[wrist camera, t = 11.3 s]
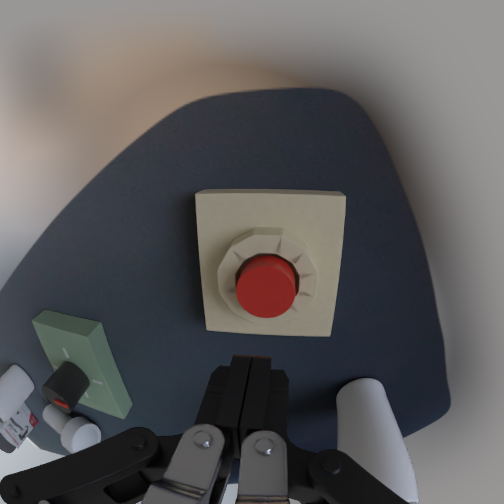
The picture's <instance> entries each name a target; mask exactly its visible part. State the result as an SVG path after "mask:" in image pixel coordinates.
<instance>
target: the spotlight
mask: <svg viewBox="0 0 504 504" xmlns="http://www.w3.org/2000/svg"><path fill="white" fill-rule="evenodd" d="M43 419H44V420H45V422H46V423H47V424H49V425H50V426H51V427H52V428H53V429H54V430H55V431H56V432H57V433H59V434H60V435H61V442H62V445H63V447H64V448H65V449H66V450H67V451H68V452H70V453H71V454H73V453H75V452H78V451H80V450H83V449H85V448H88V447H90V446H92V445H95V444H97V443H99V442H100V440H101V432H100V430H99V428H98V426H96V425H95V424H93V423H92V422H91V421H89V420H88V419H86V418H84V417H75V418H72V417H71V416H70V415H68V414H67V413H65V412H63V411H61V410H59V409H58V408H56V407H55V406H54V405H53V404H50V405H48V406H47V407H45V409H44V411H43Z"/></svg>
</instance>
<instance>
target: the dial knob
mask: <svg viewBox="0 0 504 504" xmlns="http://www.w3.org/2000/svg"><path fill="white" fill-rule="evenodd" d="M89 386H90V382H89V379H88V377H87V376H86V374H85V373H84V372H83V371H82V370H81V369H80V368H79V367H78V366H76V365H75V364H73V363H71V362H69V361H64V362H63V363H62V364H61V365H60V366H59V368H58V369H57V370H56V371H55V372H54V373H53V374H52V376H51V377H50V378H49V379H48V380H47V381H46V383H45V384H44V385H43V386H42V391H43V393H44V395H45V396H46V398H47V399H48V400H49V401H50V402H51V403H52V404H53V405H54V406H55V407H56V408H58V409H59V410H61V411H63V412H65V413H71V411H72V410H73V408H74V407H75V406H76V404H77V403H78V401H79V400H80V399H81V397H82V396H83V394H84V393H85V392H86V390H87V389H88V388H89Z"/></svg>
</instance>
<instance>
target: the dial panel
mask: <svg viewBox="0 0 504 504" xmlns="http://www.w3.org/2000/svg"><path fill="white" fill-rule="evenodd" d="M32 323H33V326H34V328H35V330H36V333H37V335H38V337H39V340H40V342H41V344H42V346H43V349H44V351H45V353H46V355H47V357H48V359H49V361H50V363H51V365H52V367H53V369H54V371H56V370H57V369H58V368H59V366H60V365H61V364H62V363H63V362H64V361H69V362H71V363H73V364H75V365H76V366H78V367H79V368H80V369H81V370H82V371H83V372H84V373H85V374H86V376H87V377H88V379H89V382H90V386H89V388H88V389H87V390H86V392H85V393H84V394H83V396H82V397H81V399H80V400H79V401H78V403H81V404H83V405H86V406H88V407H91V408H94V409H96V410H99V411H102V412H104V413H107V414H110V415H113V416H116V417H119V418H122V419H125V417H126V415H127V414H128V412H129V410H130V408H131V406H132V405H133V403H132V401H131V399H130V397H129V395H128V392H127V390H126V388H125V385H124V383H123V381H122V378H121V376H120V373H119V371H118V368H117V366H116V363H115V361H114V358H113V355H112V352H111V350H110V347H109V344H108V341H107V338H106V335H105V332H104V329H103V326H102V323H101V322H98V321H93V320H89V319H84V318H79V317H75V316H70V315H66V314H62V313H58V312H54V311H50V310H46V309H45V310H44V311H43V312H42V313H40V314H39V315H38V316H37V317H36V318H34V319H33V320H32Z"/></svg>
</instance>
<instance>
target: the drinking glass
mask: <svg viewBox="0 0 504 504" xmlns="http://www.w3.org/2000/svg"><path fill="white" fill-rule="evenodd" d="M336 405H337V425H338V431H337V450H340V451H342V452H344V453H346V454H347V455H349V456H350V457H351V458H352V459H353V460H354V461H356V462H357V463H358V464H359V465H360V466H362V467H363V468H364V469H365V470H366V471H368V472H369V473H370V474H371V475H373V476H374V477H375V478H376V479H378V480H379V481H380V482H381V483H383V484H384V485H385V486H387V487H388V488H389V489H391V490H392V491H393V492H394V493H396V494H397V495H399V496H400V497H401V498H403V499H404V500H405V501H407V502H408V503H410V504H418V503H419V496H418V489H417V482H416V477H415V473H414V469H413V465H412V462H411V459H410V456H409V454H408V450H407V447H406V445H405V442H404V440H403V437H402V434H401V432H400V429H399V427H398V424H397V422H396V419H395V417H394V414H393V412H392V409H391V407H390V404H389V402H388V399H387V396H386V393H385V390H384V387H383V385H382V384H381V383H380V382H379V381H378V380H376V379H372V378H361V379H357V380H354V381H351V382H349V383H348V384H346V385H345V386H343V387H342V388H341V389H340V391H339V392H338V394H337V397H336Z"/></svg>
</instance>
